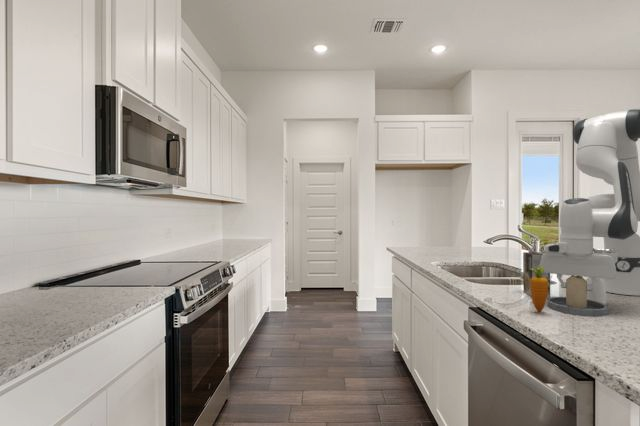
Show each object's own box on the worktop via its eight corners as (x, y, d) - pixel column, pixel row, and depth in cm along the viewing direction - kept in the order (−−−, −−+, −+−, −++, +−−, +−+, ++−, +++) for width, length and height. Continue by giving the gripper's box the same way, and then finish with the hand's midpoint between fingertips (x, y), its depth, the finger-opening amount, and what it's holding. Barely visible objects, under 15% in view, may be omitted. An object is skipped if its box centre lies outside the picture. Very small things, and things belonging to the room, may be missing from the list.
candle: (575, 308, 111) (575, 277, 111) (562, 304, 116) (561, 274, 116) (591, 308, 111) (591, 277, 111) (577, 303, 117) (577, 274, 117)
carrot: (542, 315, 107) (542, 267, 107) (526, 311, 111) (526, 265, 111) (551, 313, 109) (551, 266, 109) (535, 309, 114) (535, 264, 113)
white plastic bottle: (608, 270, 117) (587, 269, 120) (608, 305, 118) (587, 303, 120) (603, 267, 123) (584, 266, 125) (603, 301, 123) (584, 299, 125)
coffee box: (550, 298, 128) (550, 254, 128) (531, 297, 129) (531, 254, 129) (540, 292, 137) (540, 251, 137) (522, 291, 138) (522, 251, 138)
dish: (550, 300, 125) (550, 294, 125) (607, 307, 115) (607, 301, 115) (544, 310, 113) (544, 304, 113) (608, 319, 103) (608, 313, 103)
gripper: (617, 248, 110) (617, 291, 110) (541, 244, 122) (541, 283, 123) (618, 250, 105) (618, 295, 105) (539, 246, 118) (539, 286, 118)
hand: (576, 289), depth 114 cm, fingers closed on candle, 5 cm apart
